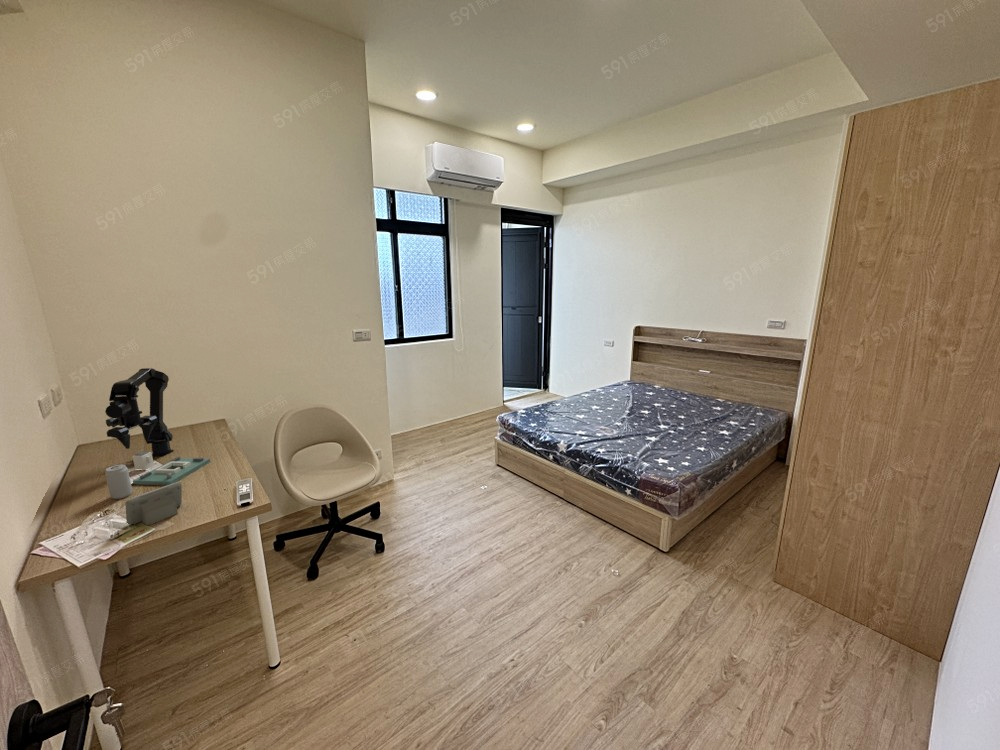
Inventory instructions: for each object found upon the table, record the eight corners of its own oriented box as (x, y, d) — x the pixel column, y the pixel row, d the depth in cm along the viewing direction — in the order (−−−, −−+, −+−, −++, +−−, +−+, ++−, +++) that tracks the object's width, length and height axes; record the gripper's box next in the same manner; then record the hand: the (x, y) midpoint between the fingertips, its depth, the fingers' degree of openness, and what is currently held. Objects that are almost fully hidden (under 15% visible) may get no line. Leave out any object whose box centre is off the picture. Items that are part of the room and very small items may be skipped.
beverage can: (129, 490, 162) (123, 462, 159) (135, 494, 158) (129, 466, 156) (108, 497, 156) (101, 468, 154) (114, 501, 153) (107, 472, 150)
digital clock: (183, 503, 152) (178, 477, 150) (189, 512, 147) (184, 485, 144) (125, 521, 141) (119, 494, 138) (129, 532, 135) (123, 503, 132)
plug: (144, 466, 182) (141, 451, 181) (156, 466, 182) (153, 451, 181) (135, 470, 178) (132, 455, 176) (147, 471, 178) (144, 455, 176)
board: (177, 461, 188) (175, 454, 187) (210, 461, 187) (209, 455, 186) (133, 484, 166) (131, 476, 166) (171, 485, 166) (169, 477, 165)
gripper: (131, 403, 182) (138, 435, 186) (89, 417, 164) (98, 452, 168) (155, 403, 182) (162, 436, 186) (116, 418, 164) (124, 453, 168)
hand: (137, 444), depth 177 cm, fingers open, 9 cm apart
